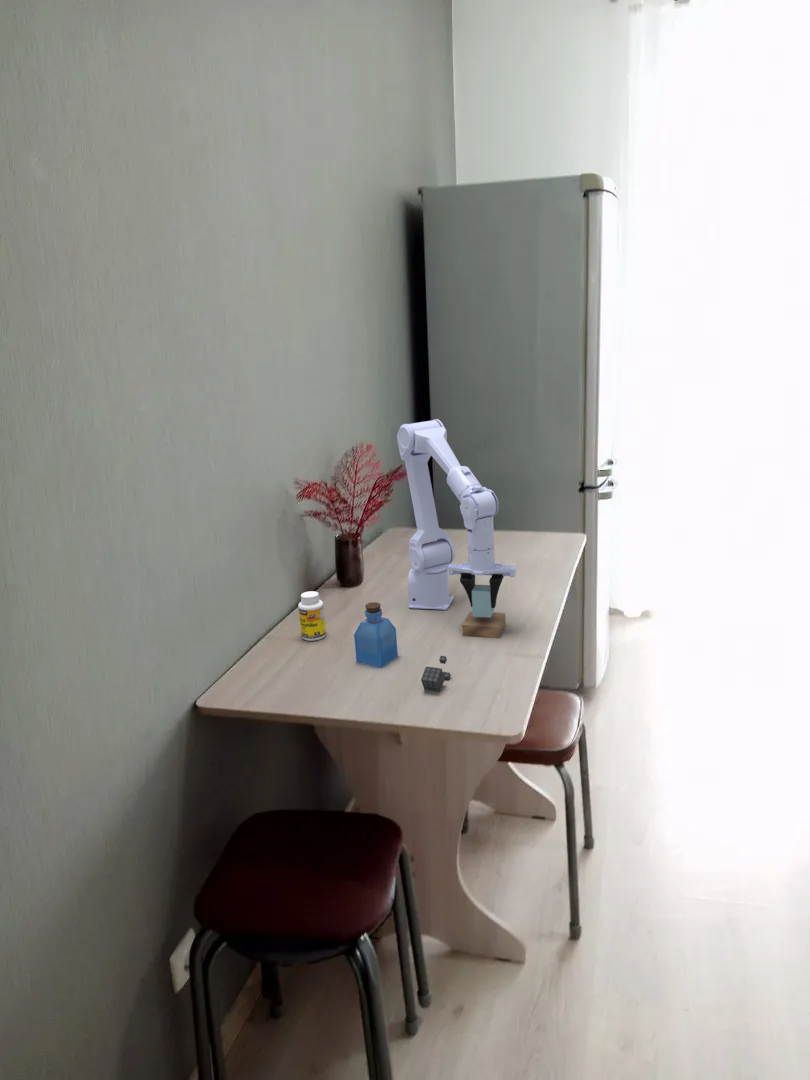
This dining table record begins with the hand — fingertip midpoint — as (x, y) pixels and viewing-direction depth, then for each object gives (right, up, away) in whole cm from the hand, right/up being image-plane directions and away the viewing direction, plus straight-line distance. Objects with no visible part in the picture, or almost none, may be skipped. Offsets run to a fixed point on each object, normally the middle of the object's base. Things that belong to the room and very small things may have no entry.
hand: (483, 606), depth 179 cm
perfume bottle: (-23, -10, -9) cm, 27 cm away
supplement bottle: (-38, -7, +4) cm, 39 cm away
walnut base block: (0, -6, +2) cm, 6 cm away
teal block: (0, -2, 0) cm, 2 cm away
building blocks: (-11, -13, -22) cm, 28 cm away
